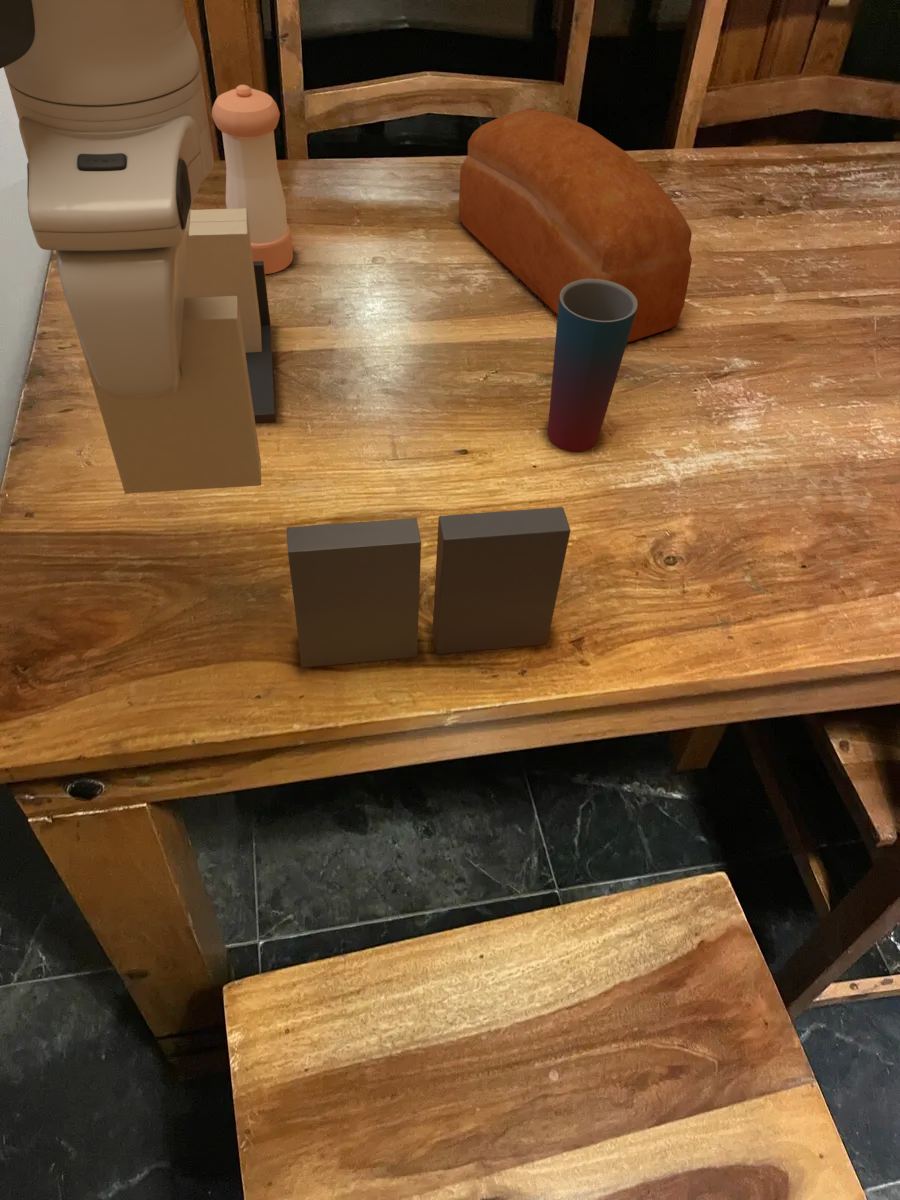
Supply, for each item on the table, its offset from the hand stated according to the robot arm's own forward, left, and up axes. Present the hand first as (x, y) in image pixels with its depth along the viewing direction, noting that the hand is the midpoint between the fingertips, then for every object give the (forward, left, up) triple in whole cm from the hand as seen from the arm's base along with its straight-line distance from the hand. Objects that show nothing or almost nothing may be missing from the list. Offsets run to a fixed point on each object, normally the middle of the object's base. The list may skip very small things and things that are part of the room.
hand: (169, 366), depth 57 cm
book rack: (-20, +25, -24) cm, 40 cm away
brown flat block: (0, 0, -9) cm, 9 cm away
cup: (+15, +36, -24) cm, 46 cm away
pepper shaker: (-30, +46, -24) cm, 60 cm away
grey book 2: (+19, +9, -24) cm, 32 cm away
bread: (+1, +64, -24) cm, 69 cm away
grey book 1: (+11, +3, -24) cm, 27 cm away
